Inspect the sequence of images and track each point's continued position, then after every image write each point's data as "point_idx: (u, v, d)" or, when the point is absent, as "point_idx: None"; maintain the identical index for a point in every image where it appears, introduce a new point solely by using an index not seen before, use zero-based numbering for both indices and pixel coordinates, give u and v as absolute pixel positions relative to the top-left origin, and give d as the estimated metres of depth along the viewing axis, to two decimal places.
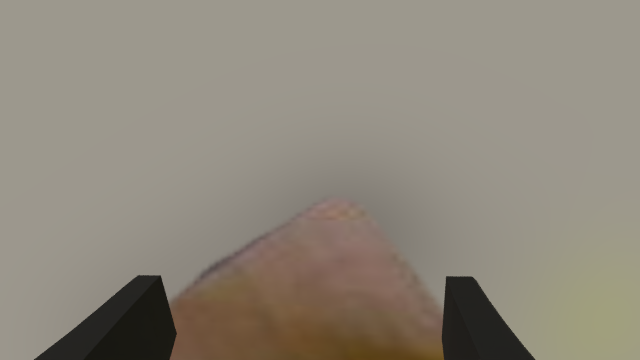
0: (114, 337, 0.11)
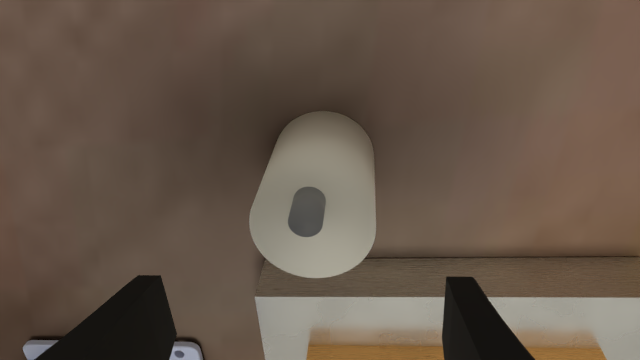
0: (114, 337, 0.11)
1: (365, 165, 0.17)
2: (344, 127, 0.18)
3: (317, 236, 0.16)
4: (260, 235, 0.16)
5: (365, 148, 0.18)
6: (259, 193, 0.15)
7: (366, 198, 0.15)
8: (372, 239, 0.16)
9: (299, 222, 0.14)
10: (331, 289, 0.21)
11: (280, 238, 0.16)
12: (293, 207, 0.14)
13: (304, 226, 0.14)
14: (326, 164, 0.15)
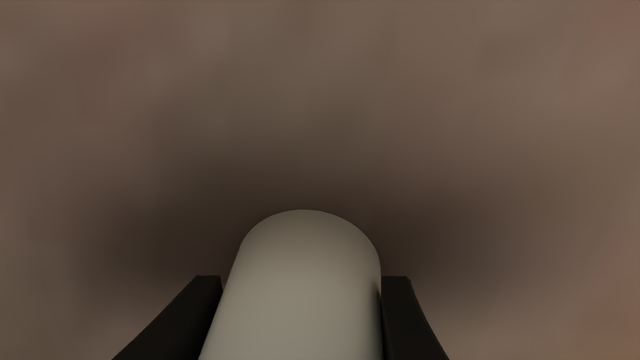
0: (184, 338, 0.10)
1: (369, 316, 0.11)
2: (337, 242, 0.12)
3: None
4: None
5: (368, 275, 0.12)
6: None
7: None
8: None
9: None
10: None
11: None
12: None
13: None
14: (304, 341, 0.09)
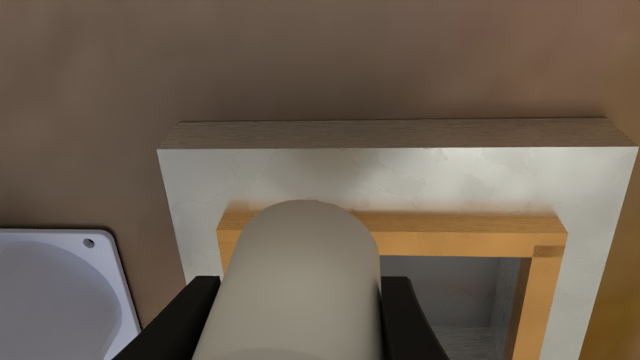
0: (184, 338, 0.10)
1: (364, 299, 0.11)
2: (331, 229, 0.12)
3: None
4: None
5: (364, 260, 0.12)
6: None
7: None
8: None
9: None
10: (247, 143, 0.18)
11: None
12: None
13: None
14: (296, 324, 0.09)
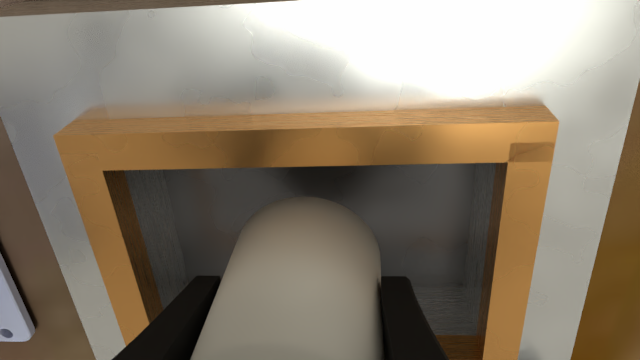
0: (184, 338, 0.10)
1: (363, 293, 0.11)
2: (329, 225, 0.12)
3: None
4: None
5: (363, 255, 0.12)
6: None
7: None
8: None
9: None
10: (94, 9, 0.12)
11: None
12: None
13: None
14: (292, 319, 0.09)
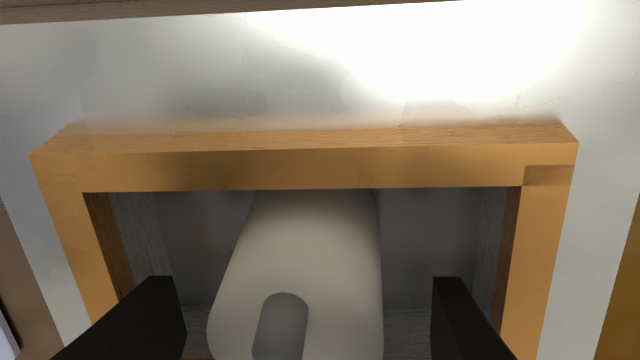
0: (128, 337, 0.10)
1: (364, 241, 0.12)
2: None
3: (303, 353, 0.11)
4: (225, 355, 0.12)
5: (364, 212, 0.14)
6: (215, 304, 0.11)
7: (365, 302, 0.11)
8: (380, 353, 0.11)
9: (267, 353, 0.10)
10: (71, 18, 0.11)
11: (253, 358, 0.12)
12: (258, 333, 0.10)
13: (275, 358, 0.10)
14: (305, 256, 0.11)
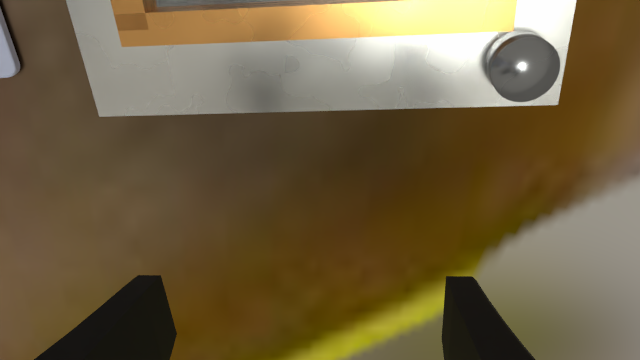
0: (114, 337, 0.11)
1: None
2: None
3: None
4: None
5: None
6: None
7: None
8: None
9: None
10: None
11: None
12: None
13: None
14: None
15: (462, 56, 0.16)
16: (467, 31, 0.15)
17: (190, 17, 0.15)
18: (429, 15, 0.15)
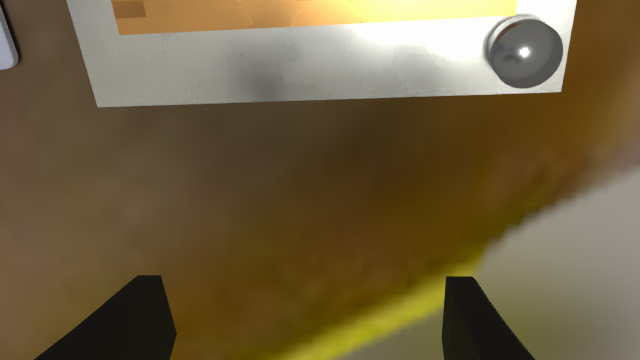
0: (114, 337, 0.10)
1: None
2: None
3: None
4: None
5: None
6: None
7: None
8: None
9: None
10: None
11: None
12: None
13: None
14: None
15: (463, 43, 0.16)
16: (468, 16, 0.15)
17: (188, 4, 0.15)
18: (430, 0, 0.14)
